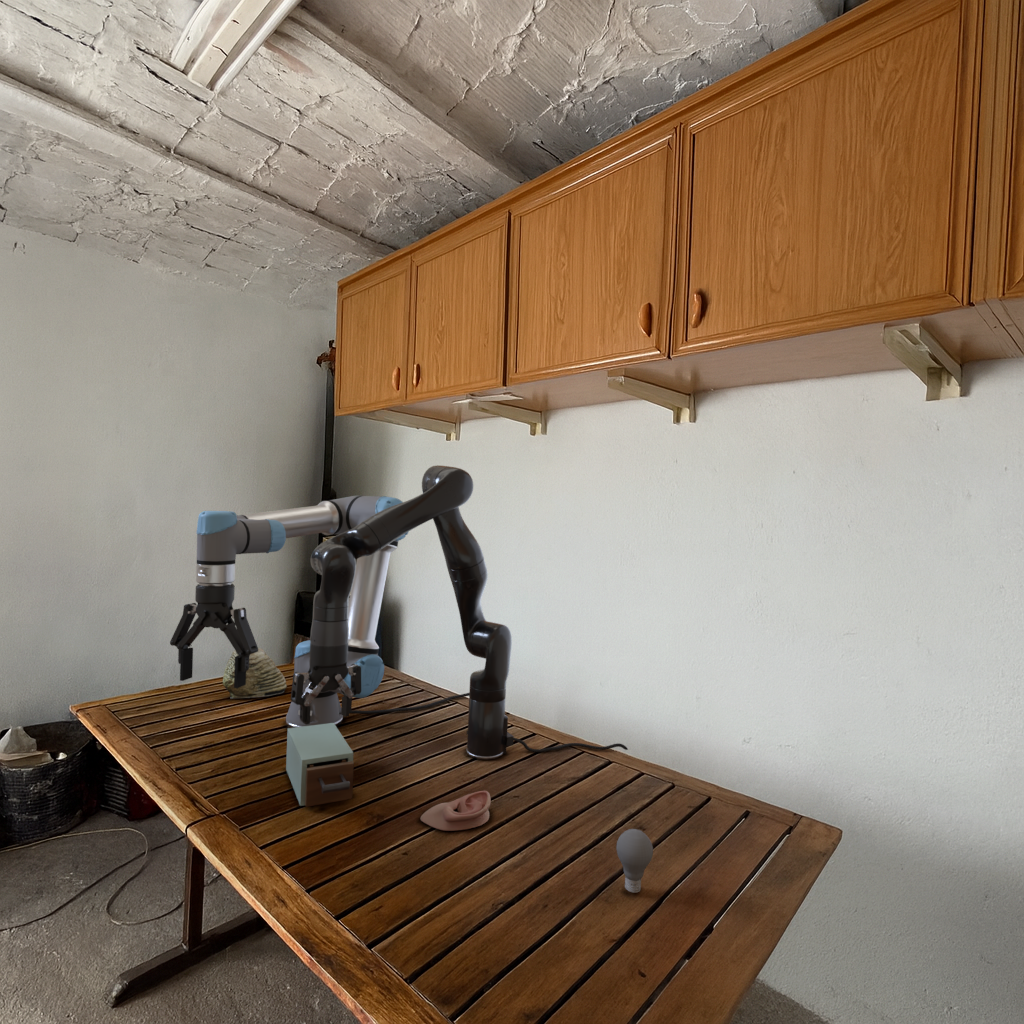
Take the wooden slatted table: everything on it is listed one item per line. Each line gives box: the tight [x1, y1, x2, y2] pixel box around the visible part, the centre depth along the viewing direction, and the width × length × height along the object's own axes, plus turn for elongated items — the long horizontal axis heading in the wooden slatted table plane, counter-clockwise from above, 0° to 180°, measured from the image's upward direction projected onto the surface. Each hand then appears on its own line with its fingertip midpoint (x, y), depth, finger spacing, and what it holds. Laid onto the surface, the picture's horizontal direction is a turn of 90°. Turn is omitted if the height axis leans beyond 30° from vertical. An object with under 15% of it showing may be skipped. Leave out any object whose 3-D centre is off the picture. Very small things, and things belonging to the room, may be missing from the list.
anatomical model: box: [419, 790, 492, 832], centre depth 127 cm, size 13×4×12 cm
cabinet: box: [285, 723, 354, 807], centre depth 140 cm, size 19×10×10 cm, turn 28°
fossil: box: [222, 647, 288, 699], centre depth 198 cm, size 9×18×15 cm, turn 132°
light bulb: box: [615, 828, 654, 894], centre depth 106 cm, size 6×6×10 cm
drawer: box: [304, 759, 355, 808], centre depth 135 cm, size 23×9×8 cm, turn 28°
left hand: (212, 682), depth 135 cm, fingers open, 13 cm apart
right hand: (326, 719), depth 130 cm, fingers open, 8 cm apart
